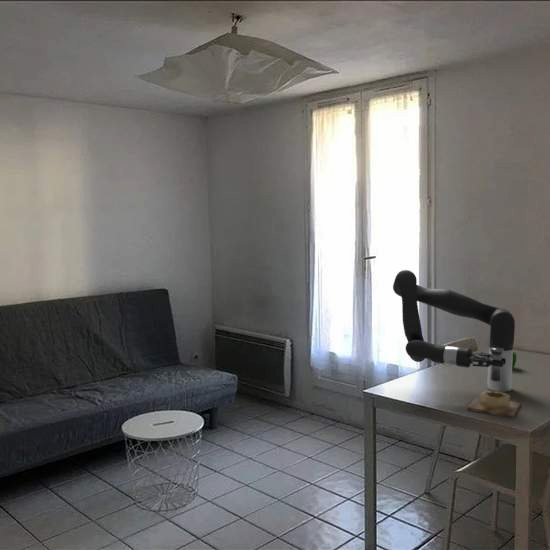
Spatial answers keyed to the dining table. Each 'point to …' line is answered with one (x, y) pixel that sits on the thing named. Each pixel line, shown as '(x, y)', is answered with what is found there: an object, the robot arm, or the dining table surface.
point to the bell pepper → (513, 360)
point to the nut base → (492, 411)
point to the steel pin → (496, 369)
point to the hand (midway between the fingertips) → (504, 362)
